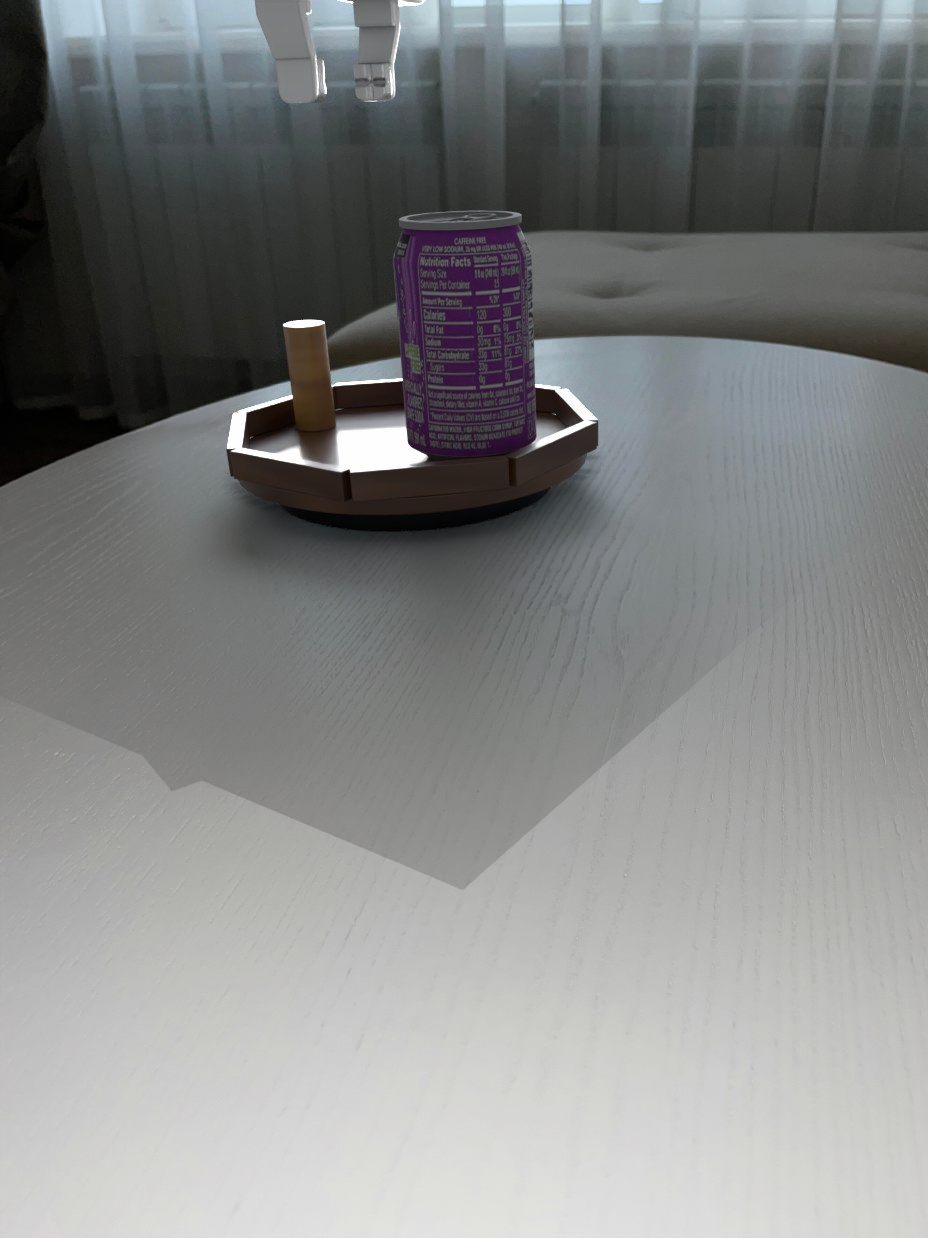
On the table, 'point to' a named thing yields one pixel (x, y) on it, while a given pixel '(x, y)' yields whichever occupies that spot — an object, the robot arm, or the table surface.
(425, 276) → the beverage can
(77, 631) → the table surface
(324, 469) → the tray
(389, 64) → the robot arm
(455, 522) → the turntable base
